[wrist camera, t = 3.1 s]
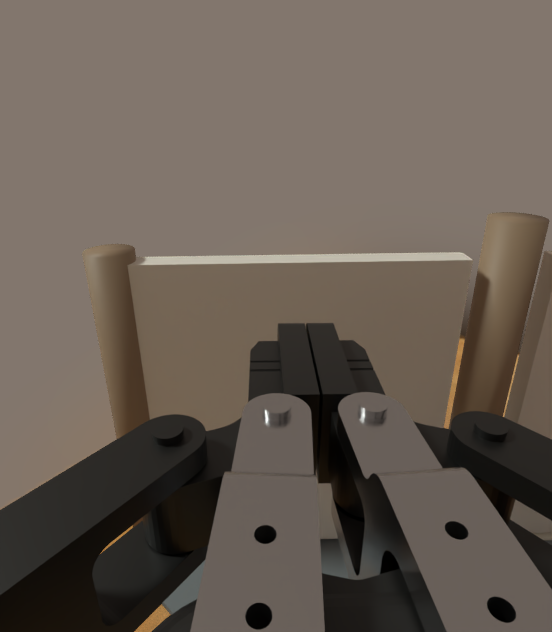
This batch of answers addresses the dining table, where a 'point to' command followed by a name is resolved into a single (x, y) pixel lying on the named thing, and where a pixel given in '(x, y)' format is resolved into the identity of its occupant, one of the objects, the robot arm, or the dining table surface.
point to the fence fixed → (511, 335)
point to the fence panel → (269, 328)
